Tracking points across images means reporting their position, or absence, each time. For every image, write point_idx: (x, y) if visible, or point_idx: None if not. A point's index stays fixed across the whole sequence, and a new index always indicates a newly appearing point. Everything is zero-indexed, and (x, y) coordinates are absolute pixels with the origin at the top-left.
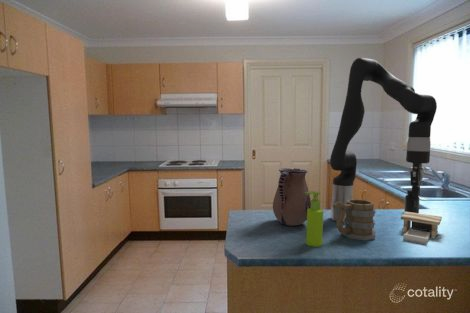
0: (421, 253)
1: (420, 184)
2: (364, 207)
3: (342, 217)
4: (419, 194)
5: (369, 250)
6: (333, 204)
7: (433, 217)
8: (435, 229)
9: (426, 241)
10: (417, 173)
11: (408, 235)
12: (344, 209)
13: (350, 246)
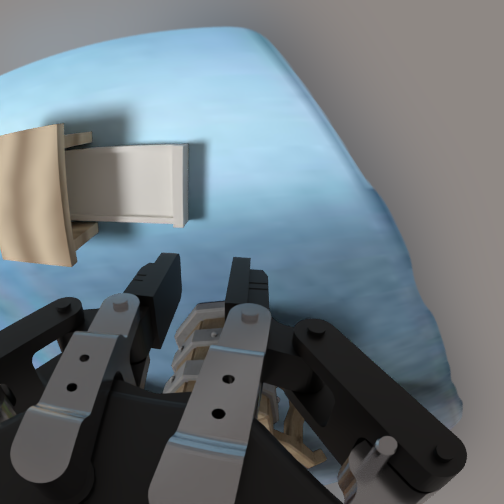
0: (304, 151)
1: (131, 303)
2: (265, 409)
3: (298, 416)
4: (169, 254)
5: (360, 292)
6: (319, 463)
7: (6, 160)
8: (70, 134)
9: (185, 144)
10: (459, 451)
11: (182, 209)
12: (295, 436)
13: (350, 336)
